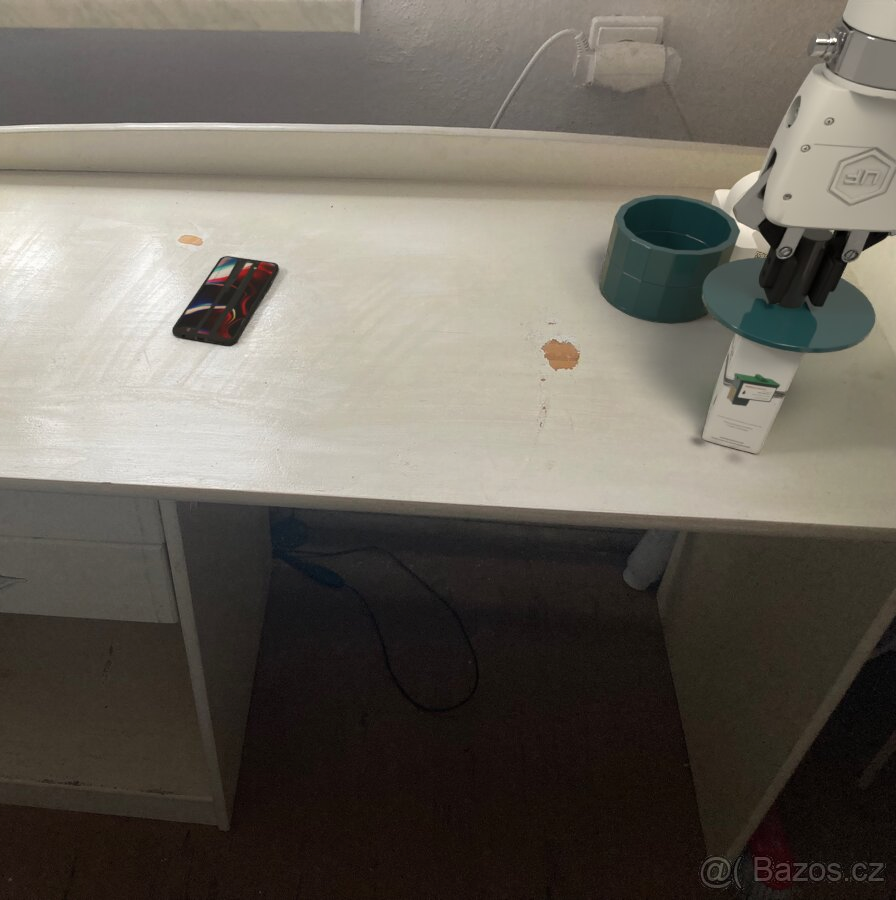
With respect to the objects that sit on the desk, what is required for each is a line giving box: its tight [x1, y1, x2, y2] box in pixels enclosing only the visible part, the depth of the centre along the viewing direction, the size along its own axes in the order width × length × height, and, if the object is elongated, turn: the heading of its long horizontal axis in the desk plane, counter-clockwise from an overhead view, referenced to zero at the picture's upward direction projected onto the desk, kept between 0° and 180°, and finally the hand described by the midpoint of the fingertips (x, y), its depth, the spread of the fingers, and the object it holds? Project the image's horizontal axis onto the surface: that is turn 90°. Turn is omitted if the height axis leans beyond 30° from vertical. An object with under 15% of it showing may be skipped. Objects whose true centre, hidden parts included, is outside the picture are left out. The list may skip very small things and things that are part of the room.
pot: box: [599, 194, 740, 324], centre depth 89 cm, size 12×12×8 cm
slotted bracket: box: [710, 169, 771, 262], centre depth 95 cm, size 13×7×8 cm, turn 171°
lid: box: [701, 229, 877, 354], centre depth 67 cm, size 13×13×6 cm
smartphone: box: [171, 255, 280, 346], centre depth 93 cm, size 7×1×15 cm
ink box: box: [701, 333, 805, 455], centre depth 73 cm, size 9×5×12 cm, turn 153°
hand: (791, 293), depth 68 cm, fingers closed on lid, 2 cm apart
